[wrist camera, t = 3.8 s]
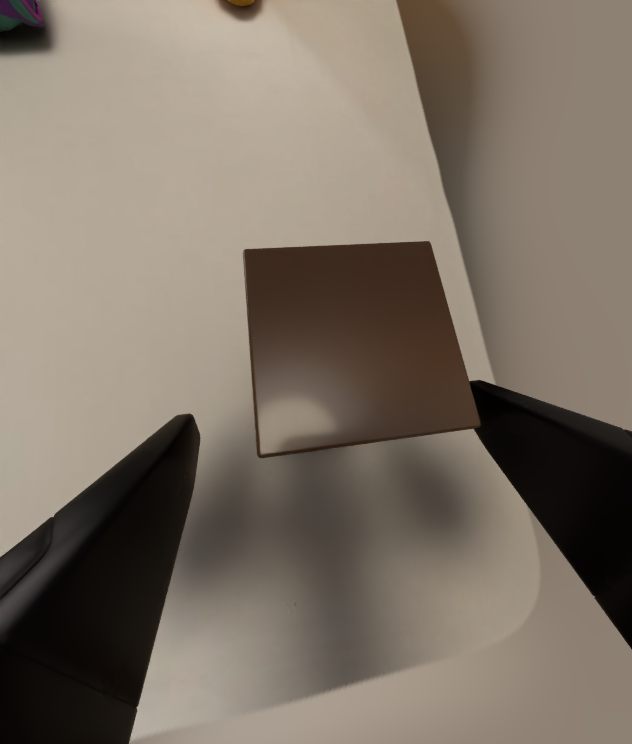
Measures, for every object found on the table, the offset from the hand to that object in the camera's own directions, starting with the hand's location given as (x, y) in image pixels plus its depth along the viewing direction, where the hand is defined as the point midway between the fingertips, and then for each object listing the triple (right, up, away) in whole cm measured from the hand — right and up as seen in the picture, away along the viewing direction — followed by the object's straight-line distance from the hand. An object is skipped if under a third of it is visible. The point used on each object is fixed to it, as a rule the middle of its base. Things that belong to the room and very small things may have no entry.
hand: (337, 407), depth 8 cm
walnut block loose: (-1, -1, +9) cm, 9 cm away
